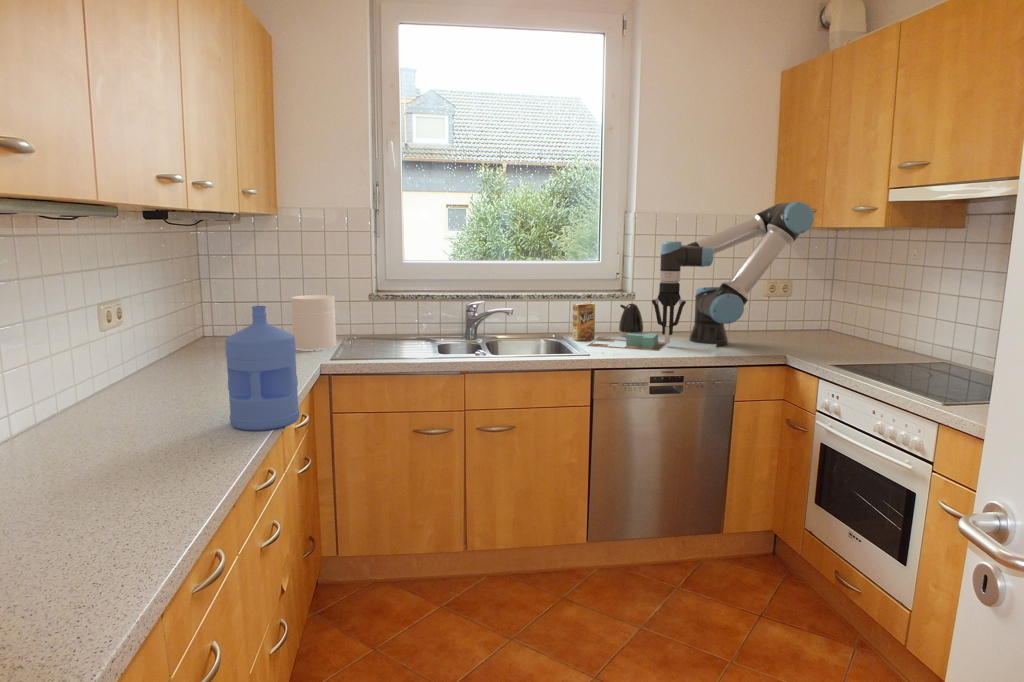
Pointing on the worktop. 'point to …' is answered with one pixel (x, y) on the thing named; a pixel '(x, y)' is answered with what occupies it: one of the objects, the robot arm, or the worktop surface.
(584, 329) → the candy box
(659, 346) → the board
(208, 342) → the worktop surface
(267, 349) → the water jug
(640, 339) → the t block
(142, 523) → the worktop surface
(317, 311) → the canister
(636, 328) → the pump dispenser
